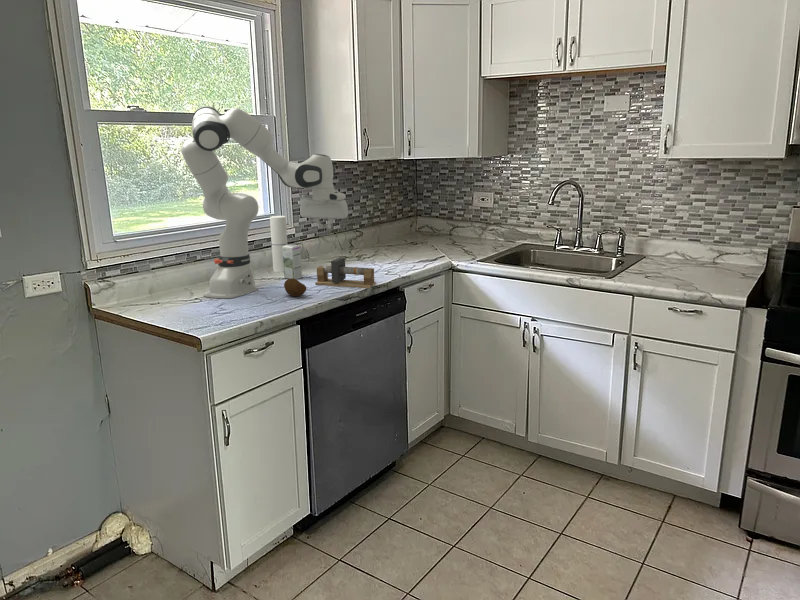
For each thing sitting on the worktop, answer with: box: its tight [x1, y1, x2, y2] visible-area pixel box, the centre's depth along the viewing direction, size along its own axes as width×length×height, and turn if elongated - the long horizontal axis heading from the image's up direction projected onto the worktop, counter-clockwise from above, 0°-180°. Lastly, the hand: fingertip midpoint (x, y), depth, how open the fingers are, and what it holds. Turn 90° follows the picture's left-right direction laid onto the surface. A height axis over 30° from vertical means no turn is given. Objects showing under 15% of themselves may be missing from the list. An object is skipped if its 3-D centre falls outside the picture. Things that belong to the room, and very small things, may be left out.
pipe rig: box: [315, 265, 377, 289], centre depth 253 cm, size 8×24×8 cm, turn 72°
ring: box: [330, 256, 347, 283], centre depth 253 cm, size 9×2×9 cm, turn 162°
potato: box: [283, 278, 307, 298], centre depth 236 cm, size 7×12×7 cm, turn 53°
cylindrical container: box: [269, 215, 288, 273], centre depth 279 cm, size 7×7×25 cm
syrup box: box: [282, 244, 303, 280], centre depth 265 cm, size 6×6×14 cm
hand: (324, 228), depth 250 cm, fingers closed
